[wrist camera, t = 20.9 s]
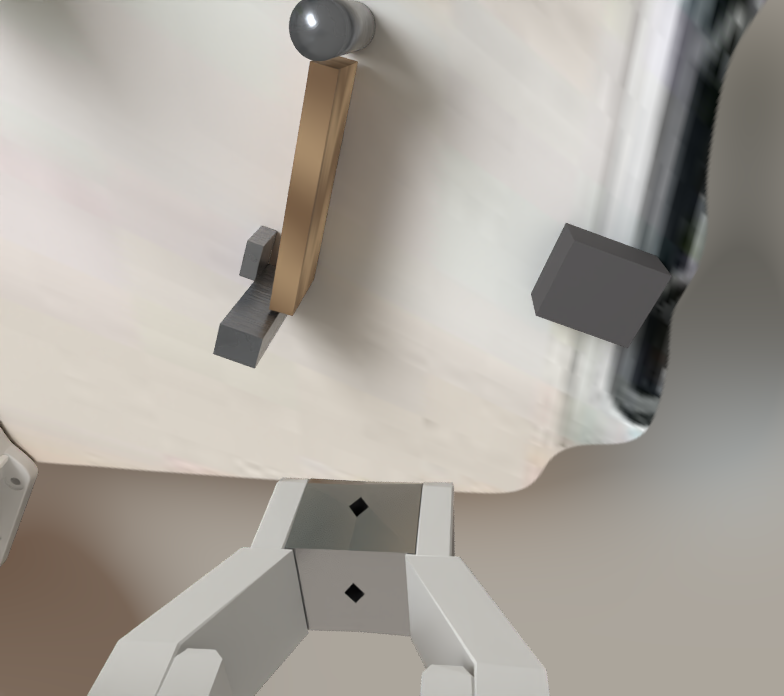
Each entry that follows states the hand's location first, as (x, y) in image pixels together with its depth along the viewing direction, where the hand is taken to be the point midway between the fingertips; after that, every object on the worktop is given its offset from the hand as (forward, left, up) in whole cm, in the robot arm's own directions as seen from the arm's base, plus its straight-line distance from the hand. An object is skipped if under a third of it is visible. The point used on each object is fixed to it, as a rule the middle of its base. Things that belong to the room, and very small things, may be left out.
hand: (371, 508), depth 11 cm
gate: (-3, +6, -29) cm, 29 cm away
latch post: (-10, +7, -29) cm, 32 cm away
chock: (-3, -12, -29) cm, 32 cm away
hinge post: (+5, +7, -29) cm, 30 cm away
